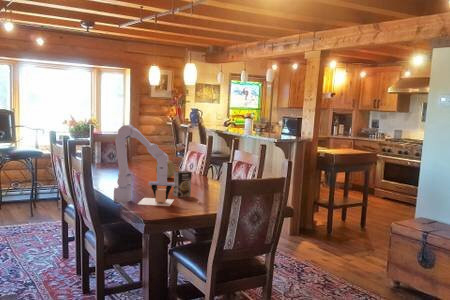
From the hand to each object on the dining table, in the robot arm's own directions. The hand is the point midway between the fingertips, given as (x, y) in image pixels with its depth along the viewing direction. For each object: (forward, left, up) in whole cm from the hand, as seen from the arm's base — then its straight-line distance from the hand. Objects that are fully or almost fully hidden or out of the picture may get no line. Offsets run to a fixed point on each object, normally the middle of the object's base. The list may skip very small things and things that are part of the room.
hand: (161, 198), depth 241 cm
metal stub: (0, 0, -2) cm, 2 cm away
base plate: (-3, +2, -4) cm, 5 cm away
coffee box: (+9, +23, -4) cm, 25 cm away
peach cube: (0, 0, -2) cm, 2 cm away
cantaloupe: (-12, +88, -4) cm, 89 cm away
